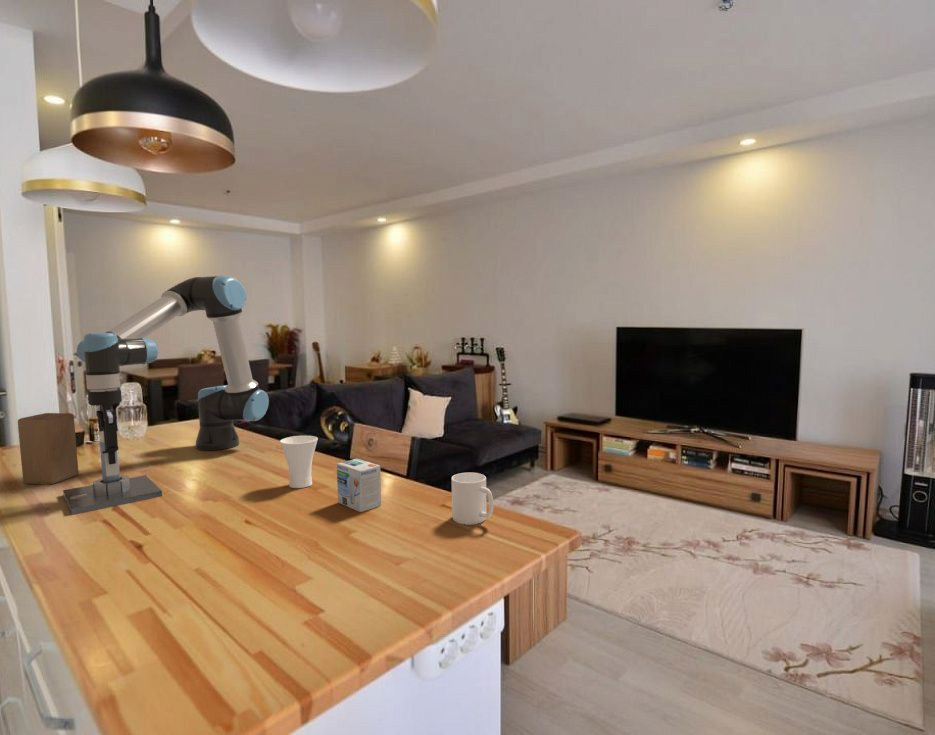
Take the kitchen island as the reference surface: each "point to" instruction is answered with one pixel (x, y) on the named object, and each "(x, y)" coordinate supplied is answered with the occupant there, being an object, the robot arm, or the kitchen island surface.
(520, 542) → the kitchen island surface
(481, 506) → the cup
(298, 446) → the cup
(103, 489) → the base plate
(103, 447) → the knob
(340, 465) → the light bulb box
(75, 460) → the wooden block
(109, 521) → the kitchen island surface
